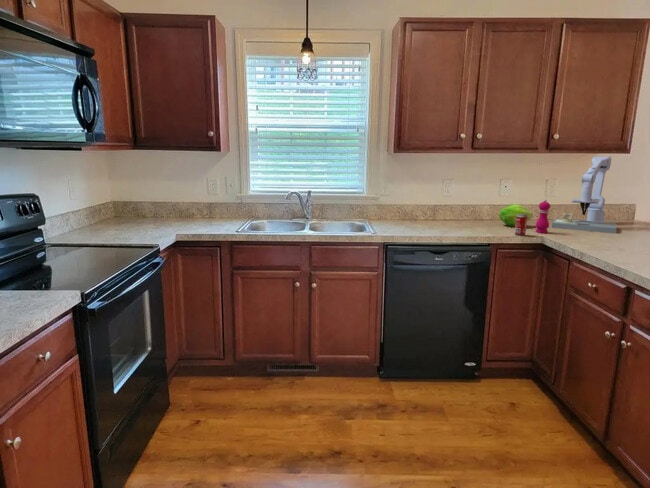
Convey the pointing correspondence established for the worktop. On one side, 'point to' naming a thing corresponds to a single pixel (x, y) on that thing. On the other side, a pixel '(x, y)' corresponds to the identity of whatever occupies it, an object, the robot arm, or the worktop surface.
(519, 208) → the lettuce
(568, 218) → the maple cube
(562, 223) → the trap deck
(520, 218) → the beverage can
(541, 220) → the pepper mill
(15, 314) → the worktop surface
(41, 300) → the worktop surface
